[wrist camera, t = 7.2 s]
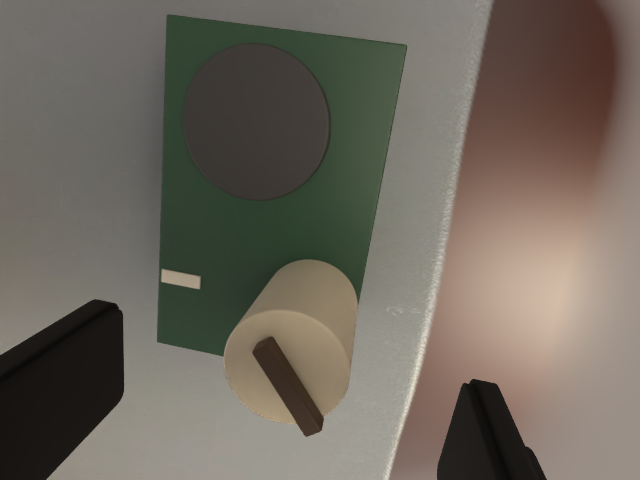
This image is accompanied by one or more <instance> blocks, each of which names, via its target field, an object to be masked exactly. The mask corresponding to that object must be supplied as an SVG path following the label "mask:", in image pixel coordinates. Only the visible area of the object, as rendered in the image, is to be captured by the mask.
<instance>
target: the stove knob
mask: <svg viewBox="0 0 640 480" xmlns="http://www.w3.org/2000/svg"><path fill="white" fill-rule="evenodd" d="M357 309H358V302H357V296H356V293H355V290H354V288H353V285H352V284H351V282H350V281H349V279H348V278H347V277H346V276H345V275H344V274H343V273H342V272H341V271H340V270H339V269H337V268H336V267H334V266H332V265H330V264H328V263H326V262H323V261H319V260H312V259H304V260H298V261H294V262H292V263H289V264H287V265H285V266H284V267H282V268H281V269H280V270H278V271H277V272H276V273H275V275H274V276H273V277H272V278H271V280H270V281H269V283H268V284H267V285H266V287H265V288H264V289H263V291H262V292H261V293H260V295H259V296H258V297H257V299H256V300H255V302H254V303H253V304H252V306H251V307H250V308H249V310H248V311H247V312H246V314H245V315H244V316H243V318H242V319H241V321H240V322H239V323H238V325H237V326H236V327H235V329H234V330H233V332H232V333H231V334H230V336H229V338H228V340H227V343H226V346H225V350H224V370H225V374H226V378H227V380H228V383H229V385H230V387H231V389H232V390H233V392H234V393H235V395H236V396H237V397H238V399H239V400H240V401H241V402H242V403H243V404H244V405H245V406H247V407H248V408H249V409H250V410H252V411H253V412H255V413H256V414H258V415H260V416H262V417H264V418H266V419H269V420H272V421H275V422H280V423H286V424H298V426H299V427H300V429H301V431H302V432H303V434H304V435H305V436H306V437H307V436H310V435H313V434H315V433H318V432H320V431H321V430H322V426H323V421H324V418H323V417H324V416H325V415H327V414H328V413H330V412H331V411H332V410H333V409H334V408H335V407H336V406H337V405H338V404H339V403H340V402H341V400H342V399H343V397H344V396H345V393H346V391H347V389H348V385H349V380H350V371H351V362H352V354H353V345H354V336H355V327H356V318H357Z"/></svg>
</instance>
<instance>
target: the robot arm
mask: <svg viewBox="0 0 640 480" xmlns="http://www.w3.org/2000/svg"><path fill="white" fill-rule="evenodd" d="M123 393H124V351H123V313H122V311H121V310H119V308H118V306H117V304H115V303H111V302H107V301H102V300H96V299H94V300H92V301H90V302H88V303H87V304H85V305H83V306H82V307H80V308H78V309H77V310H75V311H73V312H72V313H70V314H68V315H67V316H65V317H63V318H62V319H60V320H58V321H57V322H55V323H53V324H52V325H50V326H48V327H47V328H45V329H43V330H42V331H40V332H38V333H37V334H35V335H33V336H32V337H30V338H28V339H27V340H25V341H23V342H22V343H20V344H18V345H17V346H15V347H13V348H12V349H10V350H8V351H7V352H5V353H4V354H2V355H0V480H46V479H47V478H48V477H49V476H50V475H51V474H52V473H53V472H54V471H55V470H56V468H57V467H58V466H59V465H60V464H61V463H62V462H63V461H64V460H65V459H66V458H67V457H68V456H69V455H70V454H71V453H72V452H73V451H74V450H75V448H76V447H77V446H78V445H79V444H80V443H81V442H82V441H83V440H84V439H85V438H86V437H87V436H88V435H89V434H90V433H91V432H92V431H93V429H94V428H95V427H96V426H97V425H98V424H99V423H100V422H101V421H102V420H103V419H104V418H105V417H106V416H107V415H108V414H109V413H110V412H111V410H112V409H113V408H114V407H115V406H116V405H117V404H118V403H119V402H120V400H121V398H122V396H123ZM437 480H547V479H546V477H545V475H544V473H543V471H542V469H541V467H540V465H539V462H538V460H537V458H536V456H535V454H534V453H533V451H532V450H531V449H530V448H529V447H526V446H525V445H524V443H523V440H522V438H521V436H520V434H519V432H518V429H517V427H516V425H515V423H514V420H513V418H512V416H511V414H510V412H509V409H508V407H507V405H506V403H505V401H504V398H503V396H502V394H501V391H500V389H499V387H498V385H497V384H495V383H490V382H486V381H480V380H476V379H472V380H471V381H470V383H469V384H467V383H464V384H463V385H462V387H461V390H460V393H459V396H458V400H457V403H456V406H455V410H454V413H453V416H452V420H451V423H450V426H449V430H448V433H447V436H446V440H445V443H444V446H443V449H442V453H441V456H440V460H439V463H438V469H437Z"/></svg>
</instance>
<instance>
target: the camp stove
mask: <svg viewBox="0 0 640 480" xmlns="http://www.w3.org/2000/svg"><path fill="white" fill-rule="evenodd" d="M406 50H407V45H404V44H396V43H389V42H381V41H373V40H365V39H357V38H349V37H341V36H334V35H326V34H318V33H310V32H302V31H294V30H287V29H279V28H271V27H263V26H255V25H247V24H240V23H232V22H224V21H216V20H208V19H200V18H192V17H185V16H177V15H167V27H166V60H165V93H164V126H163V159H162V192H161V225H160V258H159V291H158V324H157V342H159V343H164V344H169V345H173V346H178V347H183V348H187V349H192V350H197V351H201V352H206V353H211V354H215V355H220V356H224V350H225V346H226V343H227V340H228V338H229V336H230V334H231V333H232V332H233V330H234V329H235V327H236V326H237V325H238V323H239V322H240V321H241V319H242V318H243V316H244V315H245V314H246V312H247V311H248V310H249V308H250V307H251V306H252V304H253V303H254V302H255V300H256V299H257V297H258V296H259V295H260V293H261V292H262V291H263V289H264V288H265V287H266V285H267V284H268V283H269V281H270V280H271V278H272V277H273V276H274V275H275V273H276V272H277V271H278V270H280V269H281V268H282V267H284V266H285V265H287V264H289V263H292V262H294V261H298V260H304V259H312V260H319V261H323V262H326V263H328V264H330V265H332V266H334V267H336V268H337V269H339V270H340V271H341V272H342V273H343V274H344V275H345V276H346V277H347V278H348V279H349V281H350V282H351V284H352V285H353V288H354V290H355V293H356V296H357V302H358V304H359V298H360V293H361V288H362V282H363V277H364V272H365V267H366V261H367V256H368V251H369V245H370V240H371V235H372V230H373V224H374V219H375V214H376V209H377V203H378V198H379V193H380V187H381V182H382V177H383V172H384V166H385V161H386V156H387V150H388V145H389V140H390V135H391V129H392V124H393V119H394V114H395V108H396V103H397V98H398V92H399V87H400V82H401V77H402V71H403V66H404V61H405V55H406Z"/></svg>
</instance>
